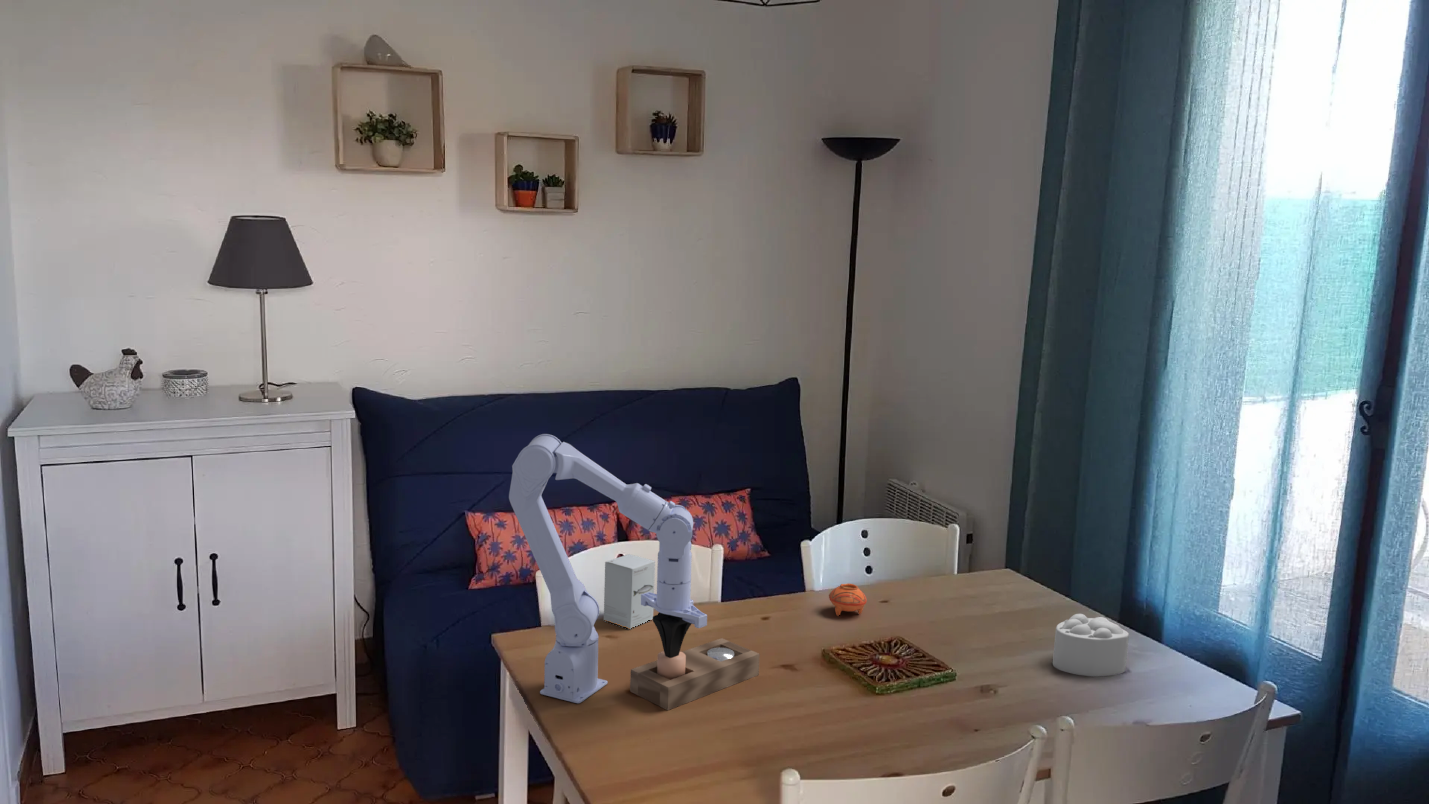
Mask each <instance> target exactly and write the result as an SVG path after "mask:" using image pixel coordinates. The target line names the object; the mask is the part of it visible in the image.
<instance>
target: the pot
mask: <svg viewBox="0 0 1429 804" xmlns="http://www.w3.org/2000/svg"><path fill="white" fill-rule="evenodd" d="M828 599H829V601H830V603H832V605H833V606H834V611H835V614H836V617H840V616H841V613H842V612H856V611H857V614H858V613H859V614H860V615H862V613H863V610H864V607H865V605H866V604H867V602H868V599H867V596H866V595H865V593H864V592H863V591H862V590H861V589H860V588H859V585H857V584H854V583H841V584H839V585H838V586H837V587H835V588H833V589H832V590H831V591H830V592H829V594H828ZM839 615H840V616H839Z"/></svg>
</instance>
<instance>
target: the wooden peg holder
mask: <svg viewBox="0 0 1429 804" xmlns="http://www.w3.org/2000/svg"><path fill="white" fill-rule="evenodd" d="M712 648H727V649H730V650H732V651H733V652H734V657H732V658H729V659H727V660H724V661H718V660H716V659H714V658H711V657H709V656H707V652H708V650H710V649H712ZM682 652H683V653H684V654H685V655H686V664H685V675H683V676H680V677H677V678H675V679H672V680H669V679H667V678H665V677H663V676H660V675H658V674H657V660H654V661H651V662H648V663H646V664H642V665H640V666H636V667H634V668H631V669H630V680H629V681H630V684H629V685H630V686H629V687H630V688H629V691H630V692H631V693H632V694H635V695H637V696H638V697H640V698H642V699H645V700H646V701H649V702H650V703H652V704H655V705H657V706H658V707H660V708H663V709H664V710H666V711H670V710H672V709H675V708H677V707H680V706H683V705H685V704H688V703H690V702H693V701H695V700H698V699H700V698H703V697H706V696H708V695H711V694H713V693H716V692H719V691H721V690H723V689H727V688H728V687H731V686H734V685H736V684H738V683H739V684H740V683H741V682H745V681H747V680H750V679H753V678H754V677H756V676H757V677H758V676H759V675H760V655H761V654H760V652H757V651H755V650H752V649H750V648H746V647H744V646H742V645H739V644H737V643H735V642H732V641H730V640H727V639H725V638H722V637H721V638H718V639H715V640H712V641H708V642H706V643H703V644H700V645H697V646H695V647H691V648H689V649H686V650H683V651H682Z"/></svg>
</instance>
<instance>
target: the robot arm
mask: <svg viewBox="0 0 1429 804" xmlns="http://www.w3.org/2000/svg"><path fill="white" fill-rule="evenodd" d="M511 467H512V474H511V479H510V480H511V481H510V487H509V492H508V500H509V502H510V505H511V508H512V509H513V512H514V514H515V516H516V519H517V521H518V523H519V526H520V528H521V530H522V533H523V535H524V537H525V539H526V542H527V544H528V546H529V548H530V551H531V552H532V555H533V558H534V560H535V563H536V564H537V567H538V569H539V571H540V574H541V575H542V578H543V580H544V582H545V584H546V587H547V589H548V592H549V594H550V606H551V607H550V608H551V612H552V614H553V616H554V632H555V643H554V646H553V648H552V649H551V650H550V651H549V652H548V653H547V654H546V656H545V659H544V677H543V678H544V684H543V685H544V687H543V688H542V689H541V690H540V691H539V694H541V695H542V696H543V695H544V696H548V697H551V698H555V699H559V700H562V701H563V700H564V701H567V702H571V703H575V704H580V703H582V702H584V701H585V700H586V699H588V698H589V697H591V696H592V695H593V694H595V693H596V692H598V691H599V690H600V689H602V688H603V687H605V686H606V685H608V680H606V679H602V678H598V677H599V676H598V675H599V673H598V672H599V634H598V632H597V631H596V628H595V626H594V625H595V623H596V621H597V620H598V618H599V616H600V605H599V603H598V600H597V599H596V598H595V597H594V596H593V595H592V594H590V593H589V591H588V590H587V588H586V586H585V584H584V583H583V582H582V581H581V580H580V579H578V578H577V575H576V573H575V570H574V568H573V566H572V563H571V562H570V559H569V557H568V554H567V552H566V549H565V548H564V545H563V543H562V540H561V539H560V536H559V533H558V532H557V530H556V527H555V524H554V522H553V519H552V518H551V515H550V512H549V511H548V508H547V506H546V504H545V502H544V499H543V496H542V494H543V492H544V490H545V488H546V486H547V483H548V481H549V479H550V478H551V476H552V475H553V474H556V475H555V480H556V481H560V480H561V481H562V480H569V479H570V480H571V479H575V480H578V481H579V482H581V483H582V484H584V485H586V486H588V487H590V488H591V489H593V490H594V491H595V490H596V491H597V492H599V493H600V494H602V495H603V496H605V497H608V498H610V499H611V500H612V501H615V502H616V504H617V508H618V512H619V513H620V514H622V515H623V516H625V517H626V518H628V519H629V520H631V521H633V522H634V523H636V524H637V525H639V526H641V527H642V528H643V529H645V530H647V531H648V532H651V533H655V535H656V538H657V540H658V542H659V545H658V553H657V566H656V567H657V572H656V573H657V574H656V576H657V577H656V593H655V592H654V593H651V592H647V593H644V594H641V605H643V606H647V605H648V606H650V607H653V608H654V609H653V610H655V611H657V612H658V613H657V614H655V615H653V620H652V622H653V624H654V625H655V628H656V629H657V632H658V635H659V637H660V640H661V643H662V649H663V651H664V653H665V656H666V657H669V658H673V657H675V656H678V655H679V652H680V651H681V648H682V645H683V642H684V639H685V636H686V634H687V632H688V631H689V629H690V627H691V626H692V625H694V628H696V629H702V628H704V627H706V626H708V614H706V613H704V612H702V611H701V610H700V609H698V608H697V607H696V606H695V605H694V600H693V599H692V598H691V591H692V589H691V586H692V582H691V581H692V561H693V560H692V556H693V555H692V551H691V550H692V542H691V541H692V538H693V537H692V536H693V528H694V519H693V516H692V513H690V511H689V510H687V508H686V507H685V506H683V505H680V504H676V503H675V502H674V501H672V500H670V501H667V500H665V499H663V498H662V497H660V496H659V495H657V494H656V493H654V492H652V491H651V490H652V486H650V485H649V484H647V483H645V484H644V485H642V484H640V483H638V482H636V483H630V484H626V483H625V482H623V481H622V480H621V479H619V478H617V477H616V476H615V475H614V474H612V473H611V472H609V471H608V470H606V469H605V468H604V467H602V466H601V465H599V464H598V463H596V462H595V461H594V460H592V459H590V458H589V457H588V456H586V455H585V454H583V453H582V452H581V451H579V450H578V449H576V448H575V447H574V446H573V445H572V444H570V443H568V442H565V441H563V442H562V441H561V440H560V439H559V438H558V437H556V436H555V435H552V434H549V433H542V434H539V435H537V436H535V437H534V438H533V439H532V440H531V441H530V442H529V443H528V444H527V446H525V447H523V448H522V450H520V452H519V453H518V455H517V457H516V458H515V460H514V462H513V464H512V465H511Z"/></svg>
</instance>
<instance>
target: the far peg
mask: <svg viewBox="0 0 1429 804" xmlns="http://www.w3.org/2000/svg"><path fill="white" fill-rule="evenodd" d="M707 656H709V657H711V658H714V659H716V660H718V661H724V660H727V659H729V658H732V657H734V652H733V651H732V650H730V649H727V648H712V649H710V650H708V652H707Z"/></svg>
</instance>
